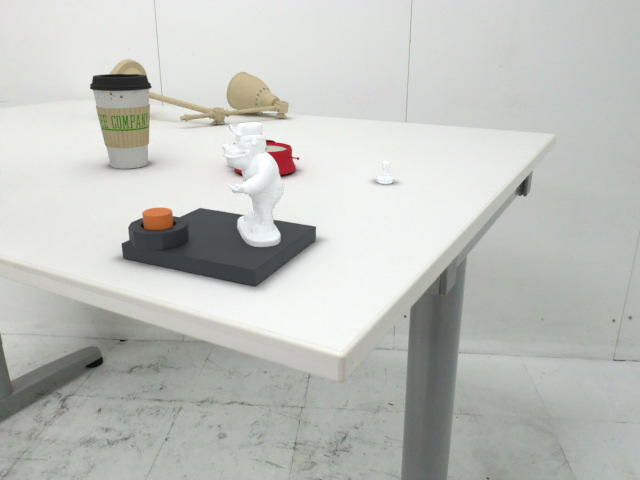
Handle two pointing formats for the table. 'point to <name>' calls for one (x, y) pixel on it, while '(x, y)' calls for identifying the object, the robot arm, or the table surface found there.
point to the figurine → (255, 183)
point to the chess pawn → (385, 174)
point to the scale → (215, 246)
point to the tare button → (157, 218)
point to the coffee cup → (124, 117)
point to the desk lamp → (241, 95)
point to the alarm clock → (280, 156)
